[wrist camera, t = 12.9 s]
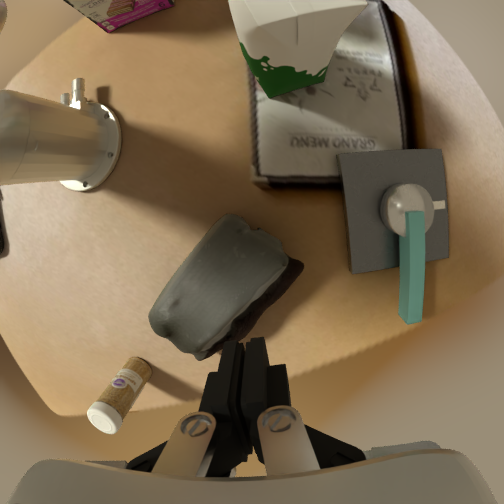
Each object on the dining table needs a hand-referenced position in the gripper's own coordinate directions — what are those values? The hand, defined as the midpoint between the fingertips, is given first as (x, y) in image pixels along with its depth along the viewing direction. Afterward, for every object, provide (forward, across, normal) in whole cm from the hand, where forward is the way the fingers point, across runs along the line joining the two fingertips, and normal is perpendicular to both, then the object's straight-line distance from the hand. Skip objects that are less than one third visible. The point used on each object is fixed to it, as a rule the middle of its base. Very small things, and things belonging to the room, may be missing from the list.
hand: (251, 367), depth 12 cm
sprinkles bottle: (+24, +22, +16) cm, 37 cm away
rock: (+24, +5, +4) cm, 25 cm away
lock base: (+23, -18, -2) cm, 29 cm away
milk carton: (+24, -7, -21) cm, 33 cm away
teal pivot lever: (+21, -17, +3) cm, 28 cm away
